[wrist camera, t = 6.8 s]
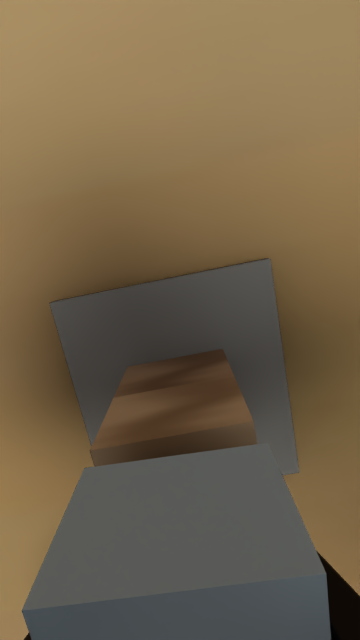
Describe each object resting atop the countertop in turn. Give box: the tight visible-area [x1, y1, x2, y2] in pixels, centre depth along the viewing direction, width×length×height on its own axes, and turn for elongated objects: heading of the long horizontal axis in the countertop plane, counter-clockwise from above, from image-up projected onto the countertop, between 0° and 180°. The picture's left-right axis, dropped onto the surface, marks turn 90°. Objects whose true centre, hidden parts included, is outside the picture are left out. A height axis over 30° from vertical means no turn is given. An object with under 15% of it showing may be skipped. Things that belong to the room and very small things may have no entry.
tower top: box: [90, 375, 257, 467], centre depth 12 cm, size 5×5×4 cm
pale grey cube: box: [22, 443, 331, 640], centre depth 7 cm, size 5×5×4 cm
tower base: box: [114, 349, 234, 398], centre depth 15 cm, size 5×5×4 cm
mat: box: [50, 258, 299, 475], centre depth 17 cm, size 11×12×1 cm
